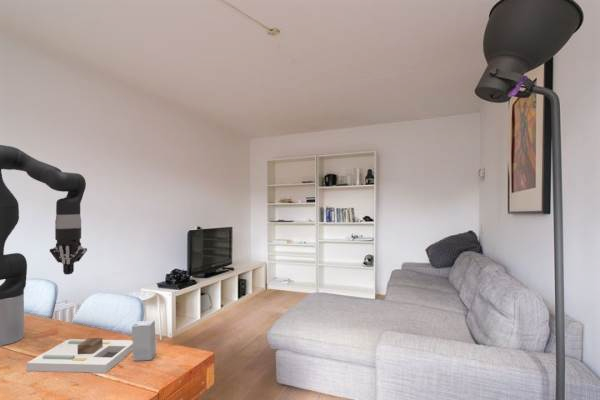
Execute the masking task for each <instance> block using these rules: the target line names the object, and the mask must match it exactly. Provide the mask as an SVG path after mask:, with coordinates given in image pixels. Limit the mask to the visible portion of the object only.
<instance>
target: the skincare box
mask: <svg viewBox="0 0 600 400" xmlns="http://www.w3.org/2000/svg"><path fill="white" fill-rule="evenodd" d="M155 323H156V320H137V321H136V322H135V323H134V324H133V325H132V326H131V339H132V340H133V351H132V361H133V362H140V361H141V362H142V361H152V360H153V359H154V357H155V356H156V354H157V351H156V324H155Z"/></svg>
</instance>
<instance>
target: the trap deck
mask: <svg viewBox="0 0 600 400" xmlns="http://www.w3.org/2000/svg"><path fill="white" fill-rule="evenodd" d="M85 340H86V339H78V338H77V339H74V338H73V339H72V338H70V339H69V338H68V339H67V340H64V341H63V342H61V343H59V344H57V345H56V346H54V347H51V348H49V350H47V351H45V352H43V353H41V354H40V355H38V356H36V357H35V358H33V359H31V360H29V361H27V362H25V364H26V365H25V366H26V372H55V373H57V372H61V373H91V374H92V373H95V374H96V373H97V374H98V373H99V374H100V373H102V374H104V373H105V374H107V372H108V370H109V371H110V370H111V369H113V367H115V366H116V365H117V364H118V363H120V362H121V361H122V360H123V359H125V358H126V357H127V356H128V355H129V354H130V353H133V340H131V339H130V340H125V339H102V341H103V347H101V348H100V349H99V350H97V351H96V352H95V353H93V354H78V345H79V344H80V343H82V342H83V341H85ZM125 356H126V357H125Z"/></svg>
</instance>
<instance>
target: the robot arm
mask: <svg viewBox="0 0 600 400" xmlns="http://www.w3.org/2000/svg"><path fill="white" fill-rule="evenodd" d="M2 170H8V171H9V170H10V171H12V170H13V171H14V170H15V171H19V172H20V171H22V172H26V174H27V175H28V177H30V178H31V179H32V180H35V181H36V182H37V181H38V182H41V183H43V184H45V185H46V186H47V187H48V188H50V189H52V190H54V191H57V192H62V193H63V192H66V193H67V194H66V196H65V197H62V198H59V199H57V201H56V206H55V214H56V215H55V220H54V221H55V222H54V224H55V225H54V230H55V231H54V235H55V240H56V243H55V247H53V248H50V249H49V253H51V255H52V256H53V257H54V259H55V260H56V262H57V263H61V264H62V269H63V270H62V272H63V275H72V274H73V273H74V272H75V271H74V269H75V267H74V266H75V263H77V262H80V261H81V259H82V258H83V256H84V255H85V254H86V253H87V251H88V249H87V248H85V247H83V246H82V242H81V239H82V218H81V217H82V216H81V203H82V200H83V197H84V193H85V190H86V185H87V184H86V183H87V182H86V181H87V180H86V179H85V177H84V176H83V175H82V174H80V173H75V172H67V171H66V172H65V171H62V170H61V169H60V168H58V167H57V166H54V165H51V164H48V163H46V162H43V161H41V160H38V159H36V158H34V157H32V156H30V154H27V153H26V152H24V151H22V150H21V149H19V148H18V147H15V146H11V145H4V144H0V281H3V280H4V282H3V283H1V284H0V346H1V347H2V346H6V345H10V344H14V343H16V342H19V341H21V340H22V339H23V338H24V336H25V334H24V333H25V332H24V331H25V301H24V300H25V288H26V285H27V273H28V263H27V259H26V257H25V256H24V254H22V253H19V252H15V253H13V252H12V253H8V254H4V253H5V251H4V250H5V245H6V242H7V240H8V238H9V236H10V235H11V234H12V232H13V231H14V229H15V228H16V226H17V225H18V224H19V223H18V222H19V220H20V209H19V208H20V206H19V201H18V200H17V198H16V197H15V195H14V194H13V193H12V191H11V190H10V189H9V188H8V187H7V184H6V183H5V182H4V179H3V174H2Z"/></svg>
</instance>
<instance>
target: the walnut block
mask: <svg viewBox="0 0 600 400" xmlns="http://www.w3.org/2000/svg"><path fill="white" fill-rule="evenodd" d="M84 340H85V341H83V342H82V343H80V344H79V345H78V354H93V353H95V352H96V351H97V350H99V349H100V348H101V347H103V341H102V340H103V337H87V338H86V339H84Z"/></svg>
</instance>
